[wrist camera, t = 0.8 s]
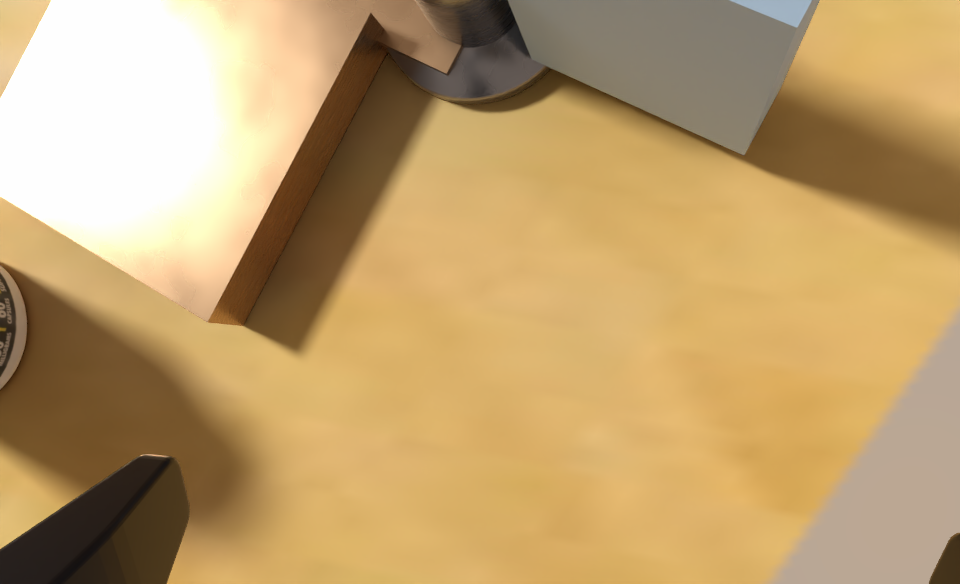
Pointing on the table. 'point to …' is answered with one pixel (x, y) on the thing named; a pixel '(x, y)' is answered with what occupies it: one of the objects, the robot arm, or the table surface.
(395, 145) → the table surface
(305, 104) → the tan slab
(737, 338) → the table surface
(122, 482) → the robot arm
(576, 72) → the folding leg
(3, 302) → the supplement bottle
